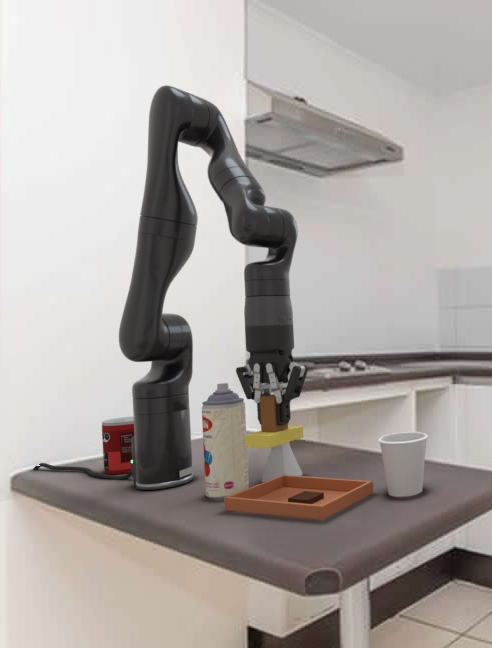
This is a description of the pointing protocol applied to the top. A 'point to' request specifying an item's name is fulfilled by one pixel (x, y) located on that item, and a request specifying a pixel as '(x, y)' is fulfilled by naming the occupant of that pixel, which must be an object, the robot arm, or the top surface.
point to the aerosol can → (224, 443)
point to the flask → (281, 463)
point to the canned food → (117, 444)
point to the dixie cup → (404, 462)
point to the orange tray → (278, 490)
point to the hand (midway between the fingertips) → (274, 423)
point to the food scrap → (306, 497)
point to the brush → (272, 427)
